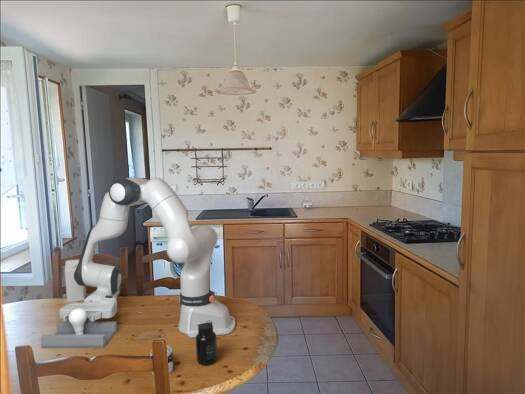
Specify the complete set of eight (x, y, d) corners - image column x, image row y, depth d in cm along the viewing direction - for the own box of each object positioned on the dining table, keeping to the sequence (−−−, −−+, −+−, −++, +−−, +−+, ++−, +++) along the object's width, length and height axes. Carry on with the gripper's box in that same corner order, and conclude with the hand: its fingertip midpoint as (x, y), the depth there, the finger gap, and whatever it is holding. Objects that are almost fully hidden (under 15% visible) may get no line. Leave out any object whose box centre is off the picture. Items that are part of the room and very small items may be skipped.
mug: (168, 377, 113) (167, 357, 112) (147, 376, 114) (146, 355, 113) (180, 359, 123) (179, 340, 122) (161, 358, 124) (160, 339, 123)
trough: (117, 331, 143) (116, 321, 142) (103, 347, 131) (102, 337, 130) (60, 331, 143) (59, 321, 143) (41, 348, 131) (40, 337, 131)
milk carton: (70, 297, 177) (67, 258, 175) (86, 295, 179) (83, 257, 177) (67, 302, 170) (63, 263, 168) (84, 300, 173) (81, 261, 170)
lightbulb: (81, 341, 133) (79, 312, 132) (66, 340, 134) (64, 311, 133) (92, 333, 139) (89, 305, 138) (77, 332, 140) (75, 304, 139)
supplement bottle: (218, 354, 126) (217, 320, 124) (216, 365, 119) (215, 330, 118) (197, 354, 126) (196, 321, 124) (195, 366, 119) (193, 331, 117)
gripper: (69, 297, 148) (49, 311, 135) (120, 296, 148) (105, 311, 135) (70, 312, 149) (50, 328, 136) (120, 311, 149) (106, 328, 135)
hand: (78, 319), depth 135 cm, fingers open, 8 cm apart
